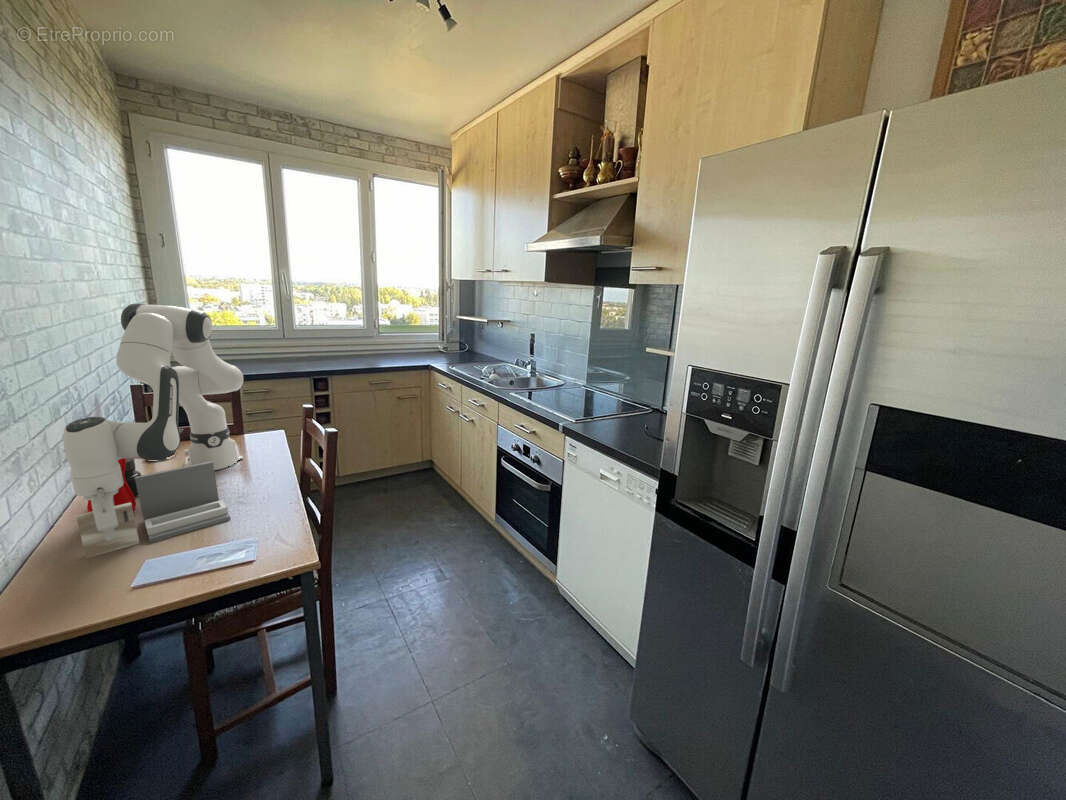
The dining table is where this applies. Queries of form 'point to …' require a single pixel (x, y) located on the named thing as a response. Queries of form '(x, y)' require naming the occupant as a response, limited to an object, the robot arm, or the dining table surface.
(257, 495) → the dining table surface
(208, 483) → the grey tablet stand
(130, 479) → the ink bottle
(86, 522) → the door panel
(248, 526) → the dining table surface
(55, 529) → the dining table surface
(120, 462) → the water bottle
